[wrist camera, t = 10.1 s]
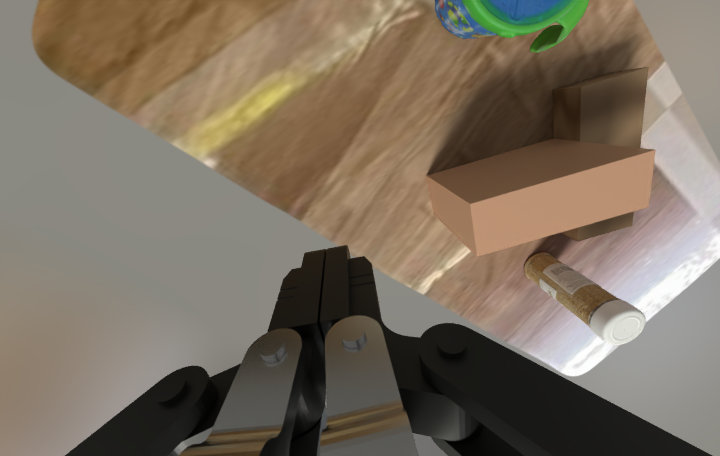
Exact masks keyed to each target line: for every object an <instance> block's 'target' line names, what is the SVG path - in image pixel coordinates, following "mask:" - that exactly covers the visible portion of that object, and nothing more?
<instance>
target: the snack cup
mask: <svg viewBox="0 0 720 456" xmlns="http://www.w3.org/2000/svg"><path fill="white" fill-rule="evenodd" d="M588 2H589V0H435V11H436V13H437V16H438V18H439V19H440V20H441V22H442V25H443V26H444V27H445V29H447V30H448V31H449V32H451V33H452V34H455V35H456V36H458V37H461V38H463V39H466V38H471V39H474V38H481V37H488V36H495V35H499V36H501V37H508V38H513V37H514V36H519V35H526V34H529V33H532V32H535V31H538V30H540V29H542V28H544V27H546V26H548V25H550V24H552V23H554V22H557V23H559V24H560V25H553V26H550V27H548V28H546V29H545V30H543V31H542V32H541V34H539V35H538V37H537V38H536V39H535V40H534V42H533V43H532V45H531V47H530V51H531V52H540V51H544V50H546V49H549V48H551V47H553V46H555V45H556V44H558V43H560V42H561V41H562V40H564V39H565V38H566V36H567V35H568V34H569V33H570V32H571V30H572V29H573V28H574V27H575V26H576V24H577V23H578V22H579V21H580V19H581V17H582V16H583V15H584V13H585V11H586V8H587V6H588Z"/></svg>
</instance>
